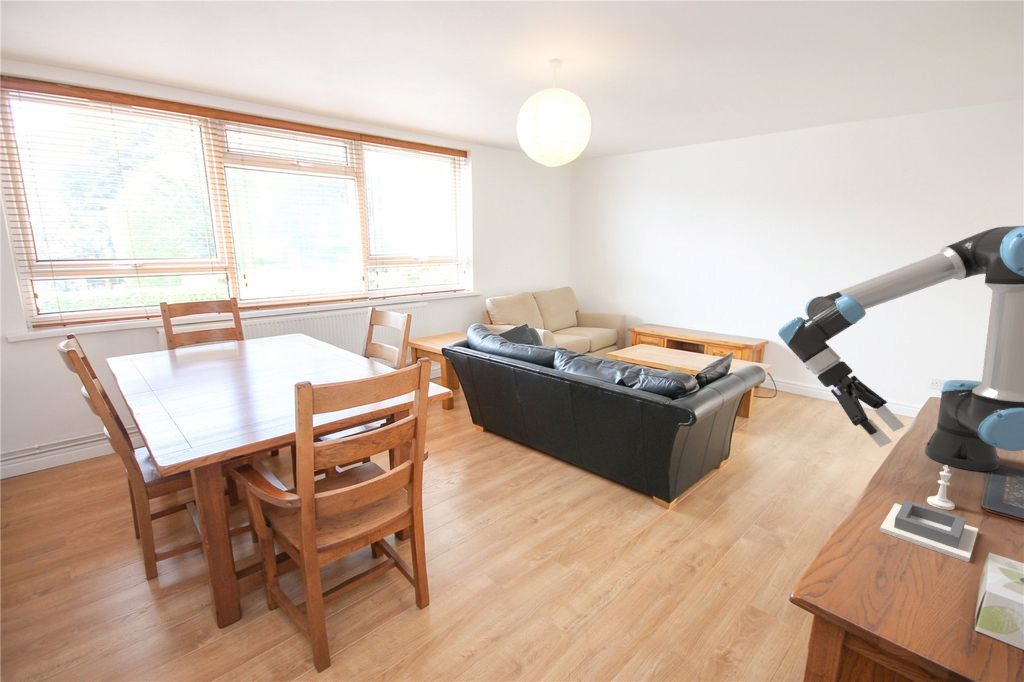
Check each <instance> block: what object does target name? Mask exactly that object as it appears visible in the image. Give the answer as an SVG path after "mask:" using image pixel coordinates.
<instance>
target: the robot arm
mask: <svg viewBox="0 0 1024 682" xmlns="http://www.w3.org/2000/svg"><path fill="white" fill-rule="evenodd" d="M978 275H985V278H984V285H986V286H987V287H988V288H989V289H990V290H991V291H992V292H991V303H990V309H989V317H988V327H987V334H986V343H985V350H984V351H985V352H984V359H983V367H982V368H983V369H982V375H981V376H982V377H981V381H980V380H979V381H978V380H965V379H949V380H947V381H945V382H944V383H943V386H942V390H941V391H940V393H941V396H940V403H939V409H938V410H939V411H938V417H937V424H936V425H937V426H936V429H935V430H934V432H933V433H932V435H931V437H930V438H929V440H928V441H927V442H926V444H925V449H924V454H925V455H926V456H927V457H928V458H929V459H932V460H934V461H936V462H939V463H941V464H943V465H948V466H950V467H954V468H957V469H962V470H963V469H964V470H970V471H977V472H992V471H996V470H998V469H999V467H1000V456H999V455H998V452H997V449H999V450H1003V451H1009V452H1020V451H1024V225H1013V226H1010V225H1009V226H999V227H998V226H997V227H993V228H989V229H987V230H983V231H981V232H978V233H975V234H974V235H971V236H969V237H966V238H964V239H961V240H959V241H957V242H954V243H951V244H949V245H947V246H943V247H942V248H941V249H940V251H939V253H936V254H933V255H931V256H929V257H926V258H923V259H920V260H918V261H915V262H913V263H909V264H907V265H904V266H902V267H900V268H897V269H894V270H891V271H888V272H886V273H883V274H880V275H878V276H876V277H872V278H870V279H867V280H865V281H862V282H860V283H856V284H854V285H852V286H849V287H846V288H843V289H841V290H838V291H835V292H833V293H829V294H827V295H825V296H824V295H823V296H815V297H812V298H811V299H809V300H808V302H806V305H805V308H804V309H805V310H804V311H805V314H806V316H807V317H808V318H807V319H804V318H803V317H802V316H797V317H794V318H793V319H792V320H790V321H789V322H787V323H786V324H784V325H782V327H781V328H780V329H778V336H779V337H780V339H781V341H783V342H784V344H786V346H787V347H788V348H789V349H790V350H791V351H792V353H794V354H795V355H796V357H798V358H799V360H800V361H801V362H802V363H803V364H804V365H805V366H806V367H805V368H806V370H809V371H811V373H812V374H814V375H817V376H816V377H817V380H819V382H821V384H822V385H823V386H824V387H826V388H829V387H831V386H833V389H831V390H830V393H831V394H832V395H833V396H834V397H835V398H836V400H837V401H838V402H839V404H840V406H841V408H842V409H843V410H844V412H845V414H846V415H847V417H848V418H849V420H850V422H851V423H852V424H853V425H854V426H855V427H857V426H860V427H861V428H862V429H863V430H864V432H866V433H867V434H868V435H869V437H870V438H871V439H872V440H873V441H874V442H875V443H876V445H878V446H879V447H880V448H882V447H884V446H886V445H888V444H891V443H893V441H892V439H891V438H889V436H888V435H887V434H886V433H885V432H884V431H883V430H882V429H881V428H880V426H878V425H877V423H875V421H874V420H873V419H872V418H871V417H870V418H869V417H868V416H867V414H866V412H865V409H864V408H863V405H862V404H861V402H863V403H865V404H866V405H867V406H869V407H871V408H872V409H873V411H874V413H875V414H876V415H878V417H879V418H880V419H881V421H883V422H884V423H885V424H886V426H888V428H889V429H891V431H892V432H894V433H895V432H896V431H898V430H900V429H903V428H904V427H905V425H904V424H903V422H901V420H899V419H898V417H897V416H896V415H895V414H893V412H892V411H891V410H890V409H889V408H888V407H887V406H886V405H885V404H887V403H888V402H887V400H886V399H884V398H883V397H881V395H879V394H878V393H876V392H875V391H873V390H872V389H871V388H870V387H868V386H867V385H866V384H865V383H863V382H862V381H861V380H860V379H859V378H858V377H857V375H851V377H850V376H849V375H850V374H852V373H853V369H852V368H851V367H850V366H849V365H848V364H847V363H846V362H845V361H843V360H842V361H841V357H840V356H839V354H837V352H836V351H835V350H834V349H833V348H832V347H831V346H829V344H828V343H827V342H828V341H830V340H831V339H833V338H834V337H835V336H838V335H839V334H840V333H842V332H844V331H846V329H848V328H850V327H851V326H853V325H855V324H857V322H860V320H862V319H863V318H864V317H865V316H866V310H868V309H871V308H873V307H876V306H880V305H881V304H884V303H887V302H890V301H893V300H895V299H899V298H902V297H905V296H906V295H910V294H912V293H916V292H918V291H921V290H924V289H928V288H930V287H933V286H935V285H939V284H941V283H944V282H946V281H950V280H953V279H954V280H959V281H961V280H964V279H966V278H970V277H973V276H978ZM860 401H861V402H860Z"/></svg>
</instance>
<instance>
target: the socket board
mask: <svg viewBox="0 0 1024 682" xmlns="http://www.w3.org/2000/svg"><path fill="white" fill-rule="evenodd" d="M966 518H967V517H963V516H960V515H958V514H953V513H950V512H947V511H944V510H942V509H941V510H940V509H938V508H934V507H931V506H927V505H924V504H919V503H918V502H913V501H911V500H907V499H905V500H904V502H903V504H899V503H894V504H893V506H892V507H891V509H890V511H889V513H888V514H887V516H886V517H885V519H884V521H883V522H882V524H881V525H880V527H879V532H880V533H884V534H886V535H889V536H891V537H895V538H898V539H901V540H903V541H906V542H908V543H912V544H914V545H917V546H920V547H923V548H926V549H929V550H932V551H935V552H938V553H940V554H944V555H946V556H949V557H951V558H954V559H957V560H960V561H963V562H966V563H970V560H971V557H972V554H973V553H972V552H973V549H974V546H975V543H976V540H977V536H978V533H979V532H978V531H979V528H978V527H975V526H971V525H968V524H966Z"/></svg>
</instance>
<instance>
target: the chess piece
mask: <svg viewBox="0 0 1024 682" xmlns="http://www.w3.org/2000/svg"><path fill="white" fill-rule="evenodd" d="M942 469H943V471H939V477H940V479H939V480H937V483H938V484H939V485H940V486H939V489H938V492H937V494H936V495H932V496H928V497H927V499H926V503H927V504H929V505H931V506H932V507H933V508H934V507H935V508H936V509H939V510H940V509H941V510H945V511H946V510H948V511H951V510H954V509H955V508H956V507H955V506H956V505H955V503H954V502H953V501H951V500H950V499H948V497H947V486H950V485H951V483H950V482H949V479H950V478H951V476H952V473H950V469H949V465H946V464H944V465H943V466H942Z"/></svg>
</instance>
